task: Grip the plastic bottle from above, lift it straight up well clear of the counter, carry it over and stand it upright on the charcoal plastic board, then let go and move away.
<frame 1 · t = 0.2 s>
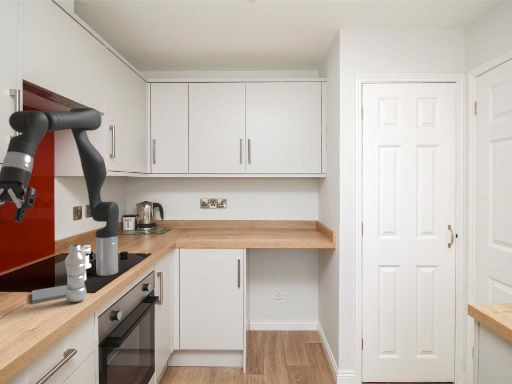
hand: (3, 221, 95), 31 cm above the worktop, tool tilted 20°, fingers open, 8 cm apart
board: (54, 294, 124), on the worktop
white cylindrical piece: (82, 280, 141), on the worktop
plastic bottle: (76, 301, 117), on the worktop
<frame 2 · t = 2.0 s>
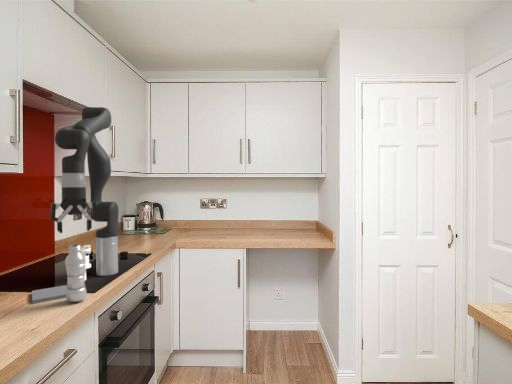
hand: (74, 231, 116), 25 cm above the worktop, tool pointing down, fingers open, 8 cm apart
nothing on the worktop moved.
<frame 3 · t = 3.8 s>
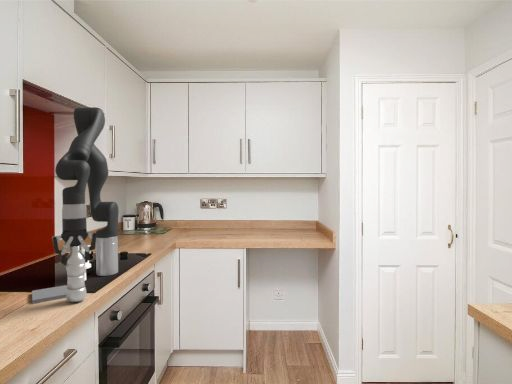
hand: (75, 263, 117), 14 cm above the worktop, tool pointing down, fingers closed on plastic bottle, 6 cm apart
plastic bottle: (76, 301, 117), on the worktop, touching gripper
everything else where it was.
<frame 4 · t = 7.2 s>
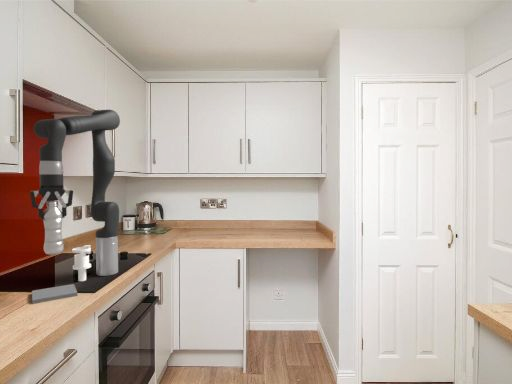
hand: (52, 218, 123), 29 cm above the worktop, tool pointing down, fingers closed on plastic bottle, 6 cm apart
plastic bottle: (53, 254, 123), point 15 cm above the worktop, touching gripper
everything else where it was.
when the fingers open (16 cm above the worktop, at t = 10.4 s): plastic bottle drops 1 cm, resting on board.
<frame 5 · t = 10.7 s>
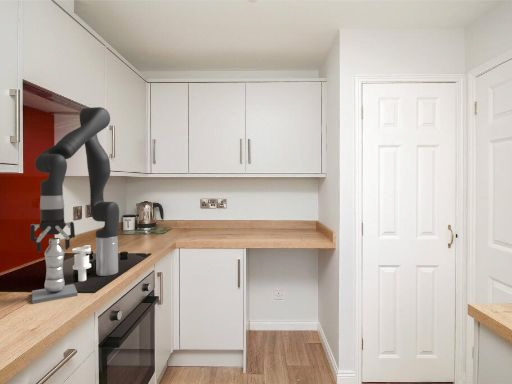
hand: (53, 250, 123), 17 cm above the worktop, tool pointing down, fingers open, 8 cm apart
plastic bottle: (54, 291, 124), point 1 cm above the worktop, touching board
everything else where it was.
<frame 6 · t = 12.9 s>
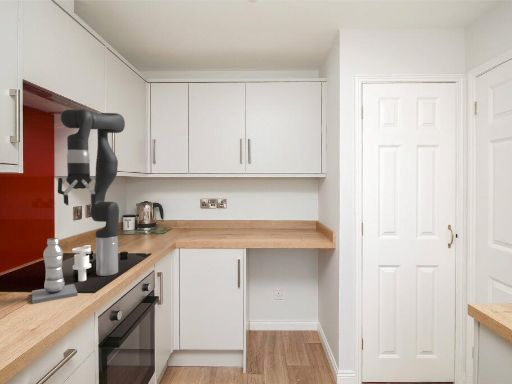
hand: (79, 204, 126), 34 cm above the worktop, tool pointing down, fingers open, 8 cm apart
nothing on the worktop moved.
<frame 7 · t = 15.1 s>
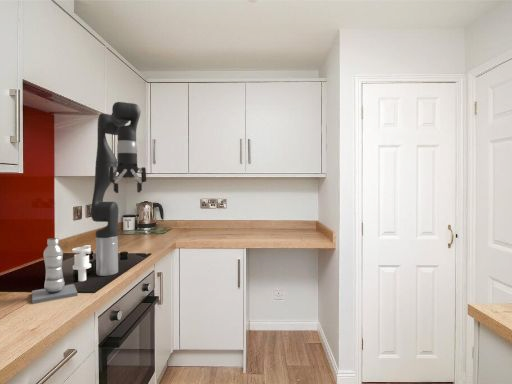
hand: (127, 192, 133), 38 cm above the worktop, tool pointing down, fingers open, 8 cm apart
nothing on the worktop moved.
at the end: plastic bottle inside the target area on the board (0.0 cm from its centre), point 1.0 cm above the board's base; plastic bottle tilted 0°; the gripper is holding nothing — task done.
